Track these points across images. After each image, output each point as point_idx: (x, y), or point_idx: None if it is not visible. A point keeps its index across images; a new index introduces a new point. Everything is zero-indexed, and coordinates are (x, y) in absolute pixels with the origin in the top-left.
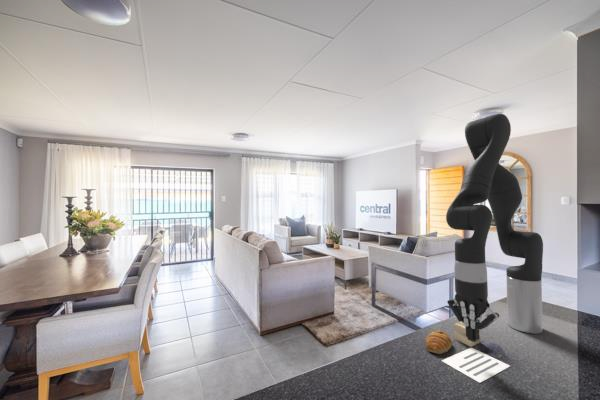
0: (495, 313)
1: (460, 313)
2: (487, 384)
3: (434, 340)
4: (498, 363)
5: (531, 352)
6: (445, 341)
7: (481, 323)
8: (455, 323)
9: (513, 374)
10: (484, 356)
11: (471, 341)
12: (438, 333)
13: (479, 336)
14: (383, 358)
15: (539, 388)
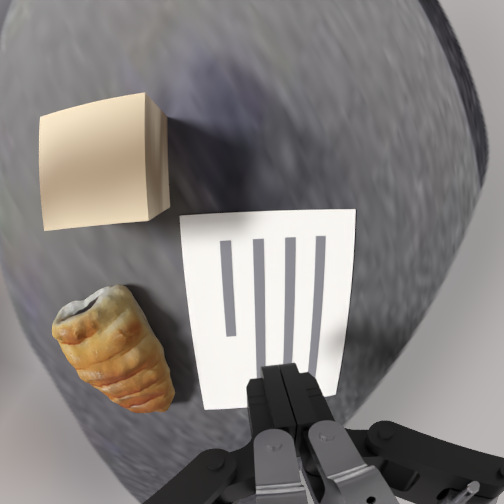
0: (501, 492)
1: (184, 494)
2: (349, 379)
3: (126, 398)
4: (323, 238)
5: (332, 16)
6: (143, 367)
7: (389, 486)
8: (44, 219)
9: (379, 257)
10: (262, 239)
11: (165, 202)
12: (81, 347)
13: (318, 385)
14: (145, 482)
15: (437, 258)
